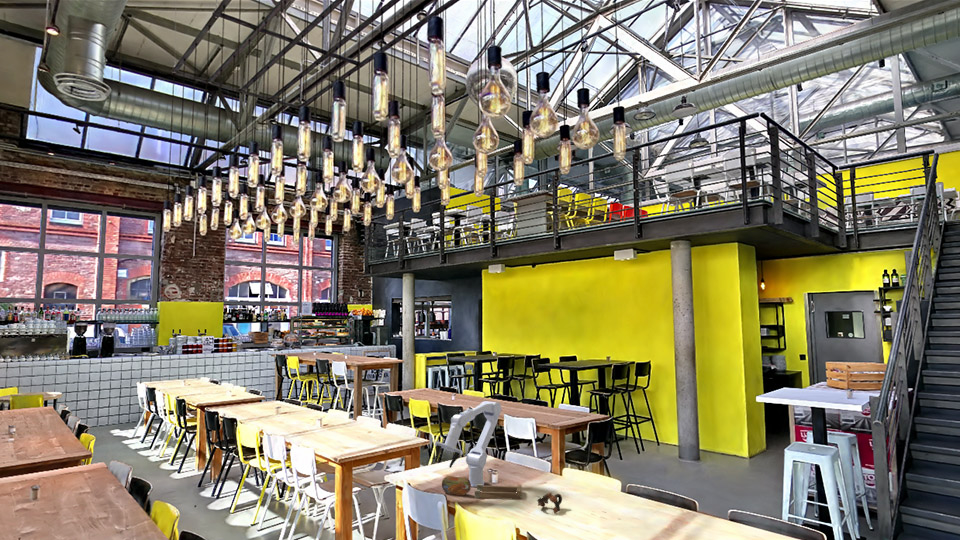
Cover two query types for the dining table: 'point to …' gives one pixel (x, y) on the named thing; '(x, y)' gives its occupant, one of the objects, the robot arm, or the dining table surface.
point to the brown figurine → (553, 499)
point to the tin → (456, 485)
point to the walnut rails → (498, 491)
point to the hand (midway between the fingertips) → (442, 464)
